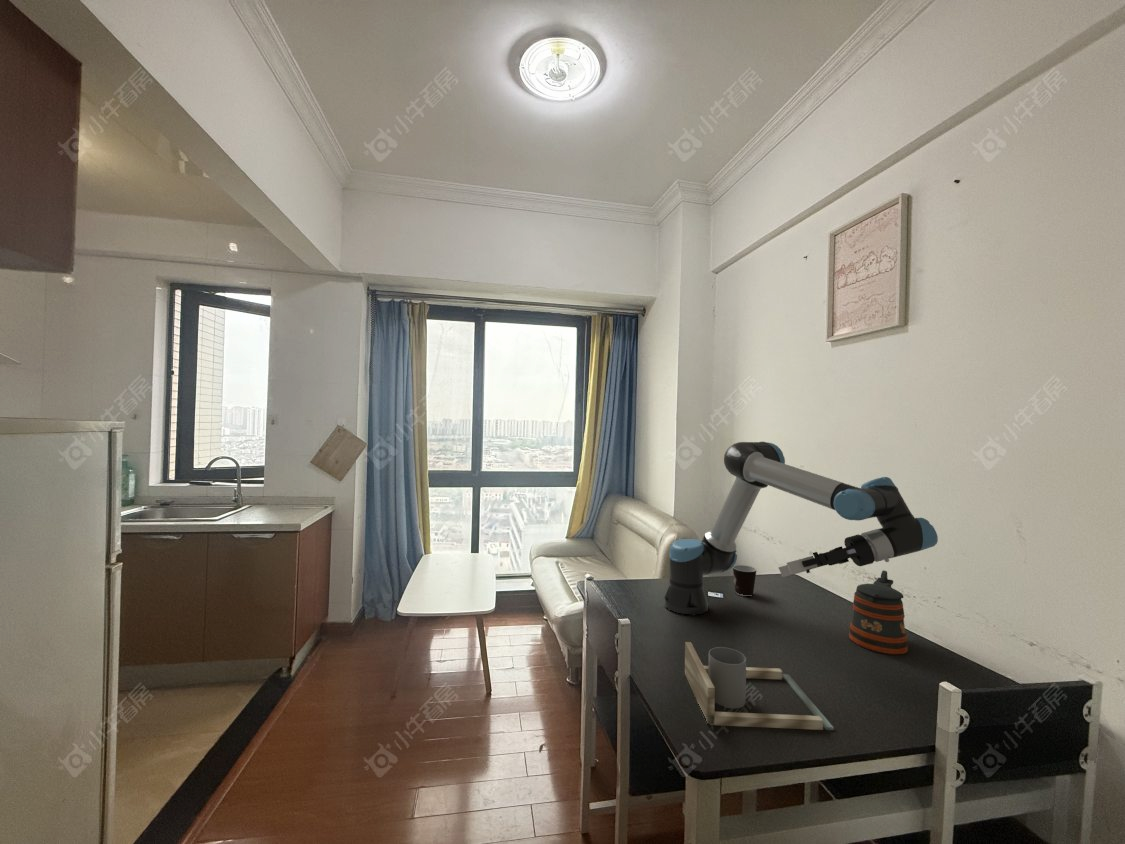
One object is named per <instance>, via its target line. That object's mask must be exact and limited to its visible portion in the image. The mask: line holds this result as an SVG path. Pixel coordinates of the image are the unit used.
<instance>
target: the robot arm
mask: <svg viewBox="0 0 1125 844" xmlns="http://www.w3.org/2000/svg"><path fill="white" fill-rule="evenodd" d="M723 464H724V467H725V469H726V471H728V473H729V474H730V475H733V476H734V477H735V479H734V482H733V483H732V486H731V488H730V490H729V492H728V494H727V497H726V499H725V501H724V503H723V505H722V508H721V510H720V512H719V513H718V516H717V518H716V520H715V522H714V524H713V527H712V529H710V530H709V529H708V530H707V531H705V533H704V536H703V538H702V540H699V539H696V538H680V539H677V540H674V541H673V542H672V543H671V544H670V547H669V555H668V557H669V574H668V575H669V578H668V579H669V581H668V583H669V584H668V586H667V590H666V592H665V595H664V599H663V605H665V606H666V607H667V608H668V609H670V610H672V611H674V612H673V613H675V612H677V613H676V614H678V613H682V614H681V615H683V614H701V613H704V612H706V611H707V612H708V610H709V609H708V599H707V597H706V596H707V595H706V594H705V591H704V582H703V581H704V576H708V575H713V574H719V573H724V572H727V571H728V570H730V569H733V566H735V565H736V562H737V559H738V554H737V544H736V542H735V541H736V540H737V537H738V535H739V533H740V531H741V529H742V527H743V525H744V524H745V521H746V519H747V517H748V515H749V513H750V511H751V509H752V508H753V504H754V503H755V501H756V499H757V496H758V495H759V492H760V491H761V489H765V488H767V487H768V486H769V487H772V488H774V489H777V490H780V491H783V492H785V493H788V494H791V495H792V496H796V497H799V498H801V499H803V500H807V501H809V502H812V503H814V504H818V505H820V506H822V507H825V508H828V509H830V510H833V511H835V512H836V513H837V514H838V515H839V516H840V517H841V518H843V519H845V520H848V521H864V520H867V519H872V518H876V520H877V521H878V523H879V525H880V526H881V527H880V528H876V529H872V530H868V531H864V532H861V534H858V533H857V534H854V535H851V536H848V537H845V538H844V546H845V547H844V548H843V546H842V545H841V546H837V547H835V548H834V549H830V550H829V551H826V552H823V553H822V552H820V553H818V552H817V551H814V552H812V555H811V556H807V557H803V558H799V559H795V560H793V561H792V560H791V561H788V562H785V563H786V565H782V566H779V567H778V568H777V569H778V570H779V572H780V573H779V574H780V575H781V577H782V578H784V577H789V576H793V575H796V574H800V573H803V572H806V574H810V573H811V570H814V569H816V568H817V569H818V568H820V567H824V566H835V565H837V564H839V565H842V564H845V563H848V562H850V561H849V559H851V560H852V562H853V564H854V565H856V566H857V567H864V566H867V565H871V564H874V562H876V563H878V562H881V561H884V562H885V563H889V562H890V559H893V558H897V557H898V558H899V557H902V556H905V555H909V554H910V555H911V554H913V553H917V552H921V551H924V550H927V549H930V548H932V547H933V548H934V547H935V546H936V545H937V543H938V542H939V541H938V540H939V537H938V534H937V531H936V529H935V527H934V526H933V525H932V524H931V523H930V521H929V520H927V519H926V518H924V517H915V516H914V514H912V512H911V510H910V508H909V506H908V505H907V503H906V501H905V500H904V498H903V496H902V494H901V493H900V491H899V488H898V487H897V485H895V483H894V482H893V480H892V479H891V478H890V477H888V476H883V477H877V478H874V479H870V480H868V481H867V482H864V483H862V484H861V485H860V487H857V486H854V485H851V484H849V483H848V484H847V483H844V482H842V481H840V480H839V481H838V480H836V479H833V478H830V477H826V476H824V475H820V474H818V473H814V472H811V471H807V470H805V469H801V468H798V467H795V466H791V465H789V464H786V458H785V456H784V452H783V451H782V450H781V448H780V447H779V446H778V445H776V444H774V443H772V442H769V441H768V442H767V441H759V442H758V441H757V442H756V441H754V442H753V441H739V442H736V443H733V444H732V445H730V446H728V448H727V449H726V451H725V453H724V455H723ZM665 606H664V607H665ZM666 607H665V608H666ZM667 608H666V609H667ZM668 609H667V610H668ZM670 610H669V611H670ZM672 611H671V612H672ZM707 612H706V613H707ZM704 614H705V613H704ZM701 615H702V614H701Z"/></svg>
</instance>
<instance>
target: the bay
mask: <svg viewBox="0 0 1125 844" xmlns="http://www.w3.org/2000/svg"><path fill="white" fill-rule="evenodd" d="M684 674H685V677H686V679H687V682H688V683H689V686H690V688H691V691H692V693H693V695H694V698H695V697H696V698H695V700H696V702H697V704H699V705H698V707H699V706H700V707H699V709H700V708H701V709H700V711H701V710H702V712H703V714H704V716H705V718H706V721H707V723H710V724H713V725H712V726H727V727H750V728H769V729H770V728H771V729H772V728H773V729H791V730H793V729H794V730H795V729H796V730H798V729H799V730H817V731H823V730H824V729H825V730H826V731H834V729H835V728H834V726H833V725H832V724H831V723H830V721H829V720H828V719H827V717H825V716H824V714H823V713H822V712H821V711H820V710H819V709H818V707H817V706H816V705H815V704H814V703H813V701H812V700H811V699H810V698H809V697H808V695H807V694H806V693H805V692H804V691H803V690H802V688H801V687H800V686H799V685H798V684H797V682H796V681H795V680H794V679H793V678H792V677H791V675H790V674H788V673H783V670H782V669H781V668H779V667H778V668H776V667H775V668H774V667H772V668H769V667H752V666H751V667H750V666H749V667H747V666H746V679H758V680H759V679H761V680H763V679H764V680H783V679H784V680H785V681H786V683H787V684H788V685H789V686H790V687H791V688H792V690H793V691H794V692H795V694H796V695H797V696H798V697H799V699H801V701H802V703H804V704H805V706H806V707H807V708H808V709H809V711H810V712H811V713H812V714H813V715H806V714H805V715H802V714H800V715H799V714H781V713H780V714H778V713H759V712H758V713H757V712H756V713H753V712H735V711H734V712H730V711H715V704H716V703H715V687H714V685H713V684H712V682H711V680H710V678H709V676H708V665H704V664H703V663H702V661H701V659H700V657H699V655H698V653H697V651H696V649H695V647H694V645H693V643H692V642H691V641H684ZM702 712H701V713H702ZM703 714H702V715H703ZM704 716H703V717H704ZM706 721H705V722H706ZM707 723H706V724H707Z"/></svg>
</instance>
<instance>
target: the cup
mask: <svg viewBox="0 0 1125 844" xmlns="http://www.w3.org/2000/svg"><path fill="white" fill-rule="evenodd" d="M707 666H708V676H709V678H710V680H711V682H712V684H713V685H714V687H715V702H717V703H718V704H720V705H723V706H724V707H723V708H726V707H727V708H728V709H731V710H732V709H740V708H742V707H745V705H746V701H747V699H746V697H747V678H746V667H747V657H746V656H745V654H743V653H742V652H741V651H739V650H736V649H733V648H731V647H730V648H729V647H725V646H717V647H714V648H710V649H709V651H708V664H707ZM718 704H717V705H718ZM720 705H719V706H720Z"/></svg>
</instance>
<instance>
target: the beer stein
mask: <svg viewBox="0 0 1125 844" xmlns="http://www.w3.org/2000/svg"><path fill="white" fill-rule="evenodd" d="M888 578H889V577H888V571H887V570H882V571H881V573H880V577H877V579H876V580H875V581H874V582H873V583H861V584H858V585H857V586H856V589H855V592H854V593H853V602H852V608H853V611H852V619H851V620H850V625H849V633H848V637H849V639H850V641H852V642H853V643H855V644H856V645H857V646H860V647H862V648H864V649H866V650H868V651H871V652H875V653H879V654H884V655H885V654H886V655H890V656H891V655H892V656H895V655H896V656H897V655H904V654H906V653H908V652H909V648H908V636H907V632H906V626H905V620H904V619H905V610H904V603H903V600H902V599H904V594H903V593H902V592H900V591H899V590H897V589H895V588H893V587H892V585H893V584H894V580H893V579H888Z"/></svg>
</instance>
